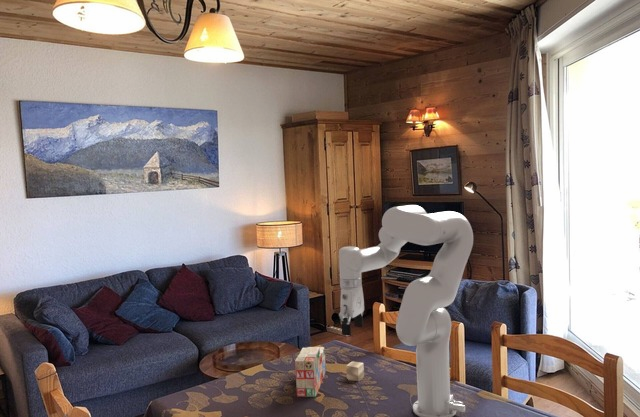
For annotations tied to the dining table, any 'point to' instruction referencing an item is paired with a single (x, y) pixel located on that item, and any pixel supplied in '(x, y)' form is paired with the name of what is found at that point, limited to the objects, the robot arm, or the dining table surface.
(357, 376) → the tan metal block
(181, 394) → the dining table surface
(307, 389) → the stack of blocks
